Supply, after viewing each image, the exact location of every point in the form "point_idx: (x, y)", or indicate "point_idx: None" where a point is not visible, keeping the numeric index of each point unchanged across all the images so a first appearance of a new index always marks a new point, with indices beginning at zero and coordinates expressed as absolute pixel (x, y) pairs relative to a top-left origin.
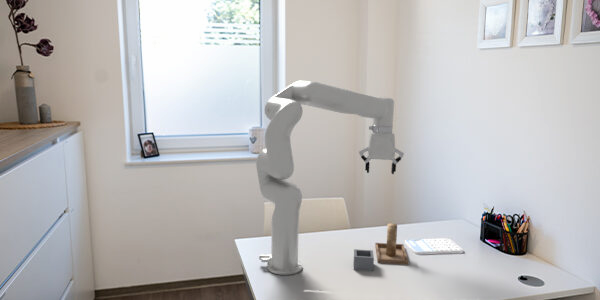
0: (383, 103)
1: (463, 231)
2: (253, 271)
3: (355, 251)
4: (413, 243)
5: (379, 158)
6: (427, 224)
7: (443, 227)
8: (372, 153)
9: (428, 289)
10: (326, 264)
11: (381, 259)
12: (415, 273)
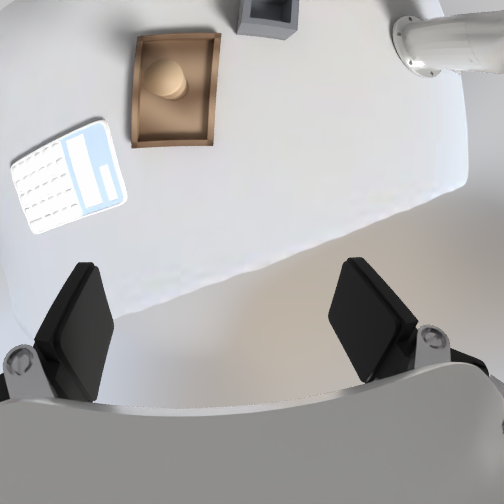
0: None
1: (22, 289)
2: None
3: (294, 17)
4: (104, 180)
5: (324, 405)
6: None
7: None
8: (494, 433)
9: None
10: (347, 41)
11: (211, 33)
12: (133, 9)
